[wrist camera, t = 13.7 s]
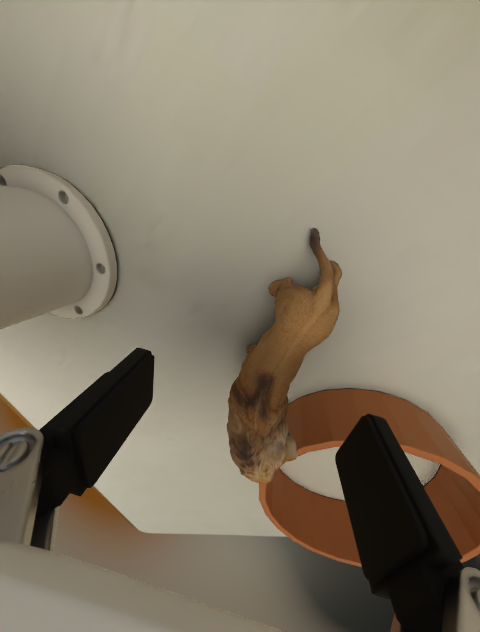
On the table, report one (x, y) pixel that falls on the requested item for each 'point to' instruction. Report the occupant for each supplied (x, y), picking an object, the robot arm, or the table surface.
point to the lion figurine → (279, 370)
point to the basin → (332, 515)
